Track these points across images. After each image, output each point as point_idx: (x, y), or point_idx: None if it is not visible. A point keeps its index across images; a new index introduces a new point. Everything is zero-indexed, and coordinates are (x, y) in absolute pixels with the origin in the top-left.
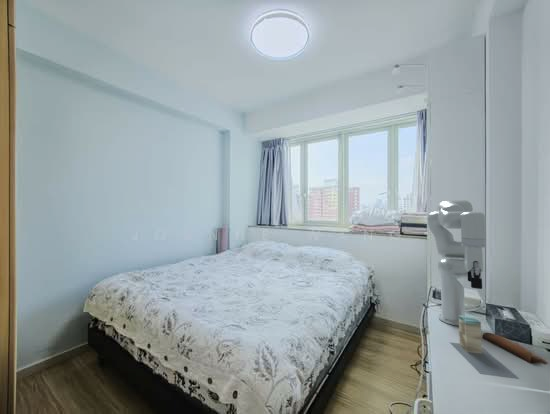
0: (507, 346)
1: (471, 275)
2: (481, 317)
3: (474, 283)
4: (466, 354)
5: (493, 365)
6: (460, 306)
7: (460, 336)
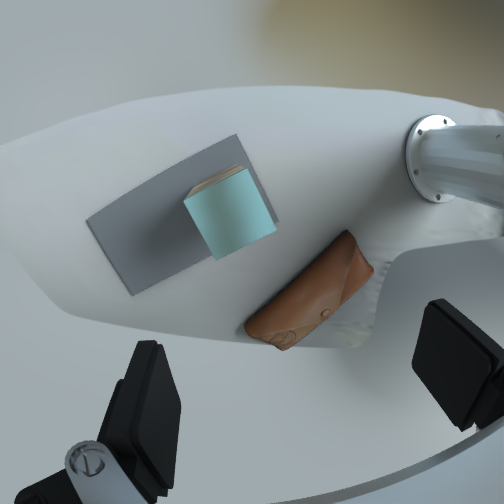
0: (292, 291)
1: (459, 367)
2: (485, 235)
3: (112, 400)
4: (175, 184)
5: (157, 248)
6: (463, 186)
7: (231, 168)
